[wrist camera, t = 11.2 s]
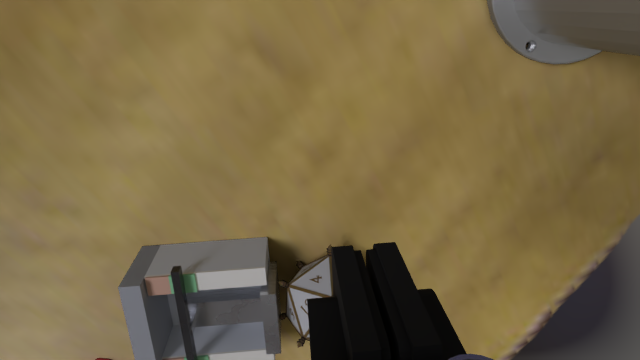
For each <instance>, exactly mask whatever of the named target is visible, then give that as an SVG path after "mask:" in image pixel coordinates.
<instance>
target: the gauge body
mask: <svg viewBox="0 0 640 360" xmlns="http://www.w3.org/2000/svg"><path fill="white" fill-rule="evenodd" d="M268 262H270V259H269V249H268V238H267V237H262V238H248V239H234V240H221V241H207V242H194V243H180V244H167V245H153V246H142V248H141V249H140V251H139V253H138V255H137V256H136V258H135V260H134V261H133V263H132V265H131V266H130V268H129V270H128V272H127V273H126V275H125V277H124V278H123V280H122V282H121V283H120V285H119V287H118V289H119V293H120V298H121V302H122V306H123V310H124V315H125V319H126V323H127V327H128V332H129V336H130V340H131V344H132V349H133V353H134V357H135V360H187V359H186V353H185V348H184V343H183V337H182V332H181V326H180V321H179V316H178V310H177V305H176V300H175V294H174V289H173V283H172V278H171V270H172V268H173V266H181V268H182V274H183V279H184V285H185V291H186V296H187V293H191V292H197V291H199V290H211V289H224V288H237V287H249V286H262V285H267V274H268ZM193 336H194V342H195V348H196V353H197V359H198V360H275V354H266V345H265V336H264V327H263V322H253V323H241V324H229V325H217V326H205V327H195V330H194V333H193Z"/></svg>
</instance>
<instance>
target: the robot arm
mask: <svg viewBox="0 0 640 360" xmlns="http://www.w3.org/2000/svg"><path fill="white" fill-rule="evenodd" d="M487 4H488V8H489V12H490V17H491V20H492V22H493V24H494V26H495V28H496V30H497V32H498V34H499V35H500V36H501V38H502V39H503V40H504V42H505V43H506V44H507V45H508V46H510V47H511V48H512V49H513V50H514V51H515V52H517V53H518V54H520V55H522V56H524V57H526V58H528V59H531V60H535V61H538V62H543V63H549V64H569V63H573V62H577V61H581V60H585V59H587V58H589V57H591V56H594V55H596V54H598V53H600V52H601V51H609V52H615V53H622V54H629V55H636V56H640V0H487ZM526 43H528V47H527V48H526V47H525V46H526ZM331 255H332V278H333V297H323V298H311V299H307V307H308V321H309V336H310V350H311V360H493V359H491V358H488V357H485V356H482V355H475V354H466V352H465V350H464V348H463V346H462V344H461V342H460V340H459V338H458V336H457V334H456V332H455V330H454V329H453V327H452V325H451V323H450V321H449V319H448V317H447V315H446V313H445V311H444V309H443V307H442V305H441V304H440V302H439V300H438V298H437V296H436V294H435V292H434V291H433V290H432V289H421V290H417V288H416V286H415V284H414V282H413V280H412V278H411V275H410V273H409V271H408V269H407V267H406V265H405V263H404V260H403V258H402V256H401V254H400V252H399V250H398V247H397V245H396V243H395V242H392V243H378V244H374V245H373V249H371V250H366V266H365V263H364V259H363V256H362V253H361V250H358V251H354V250H353V247H352V246H339V247H332V248H331Z"/></svg>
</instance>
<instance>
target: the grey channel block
mask: <svg viewBox="0 0 640 360" xmlns="http://www.w3.org/2000/svg"><path fill="white" fill-rule="evenodd" d="M171 278H172V283H173V289H174V294H175V300H176V305H177V310H178V316H179V321H180V326H181V332H182V337H183V343H184V348H185V353H186V359H187V360H198V359H197V353H196V348H195V342H194V336H193V333H194V330H195V327H205V326H217V325H229V324H241V323H253V322H263V327H264V336H265V345H266V354H278V353H281V319H280V313H281V306H280V295H279V284H278V273H277V262H276V261H275V262H268V274H267V285H262V286H249V287H237V288H224V289H211V290H199V291H197V292H191V293H187V296H186V291H185V285H184V279H183V274H182V268H181V266H173V268H172V270H171Z"/></svg>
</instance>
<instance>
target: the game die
mask: <svg viewBox="0 0 640 360" xmlns="http://www.w3.org/2000/svg"><path fill="white" fill-rule="evenodd" d="M331 248H332V246H331V245H330V246H329V247H328V248H327V252H328V255H327V256H324V257H322V258H320V259H318V260H316V261H314V262H311V263H309V264H307V265H305V266H303V263H302V262H299V261H297V265H296V266H298V268H300V270H299V271H298V272H297V274H296V275H295V276H294V277H293V278H292V280H291V281H290V282H289V283H287V282H286V281H284V280H283V281H280V282H279V284H280V286H281V287H283V288H284V287H286V288H287V297H286V313H282V314H281V313H280V319H281V320H283V319H285V318H286V317H287V318H288V319H289V320H290V322H291V323H292V324H293V326H294V327H295V329H296V330H297V331H298V333H299V334H300V335H301V337H302V338H301V339H299V341H297V343H298V347H301V346H303V344H304V343H305V340H308V341H310V336H309V321H308V307H307V299H311V298H323V297H333V278H332V255H331Z"/></svg>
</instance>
